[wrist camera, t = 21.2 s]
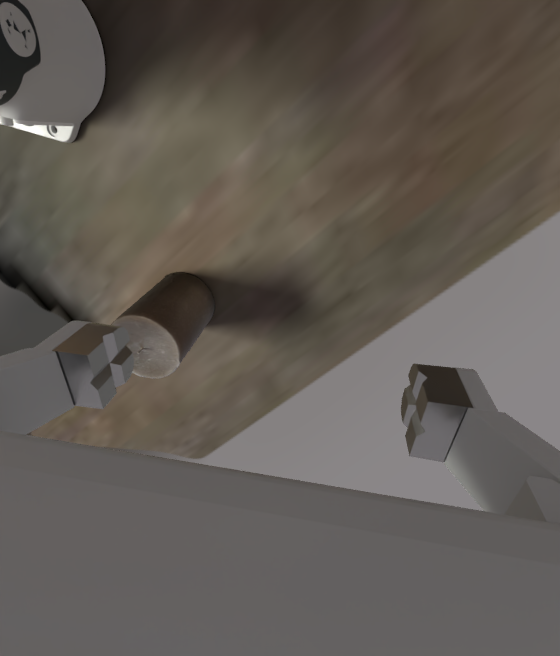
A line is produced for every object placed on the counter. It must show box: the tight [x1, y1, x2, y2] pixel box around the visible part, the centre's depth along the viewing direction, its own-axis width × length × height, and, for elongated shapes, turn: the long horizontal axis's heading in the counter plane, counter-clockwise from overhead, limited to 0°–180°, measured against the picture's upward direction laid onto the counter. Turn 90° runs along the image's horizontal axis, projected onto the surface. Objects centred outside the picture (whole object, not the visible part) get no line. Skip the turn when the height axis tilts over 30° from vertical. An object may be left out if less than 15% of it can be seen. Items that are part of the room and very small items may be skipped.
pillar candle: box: [111, 272, 215, 379], centre depth 49 cm, size 10×10×15 cm
